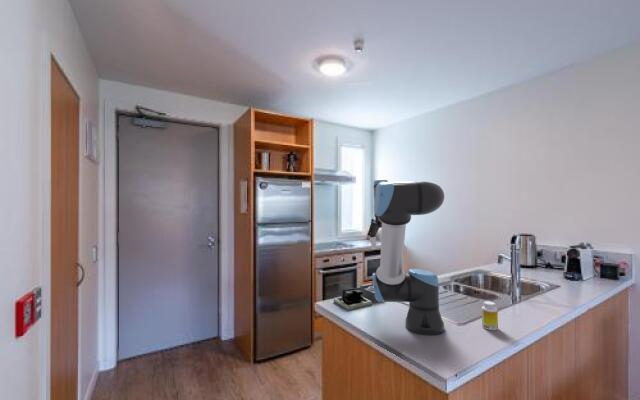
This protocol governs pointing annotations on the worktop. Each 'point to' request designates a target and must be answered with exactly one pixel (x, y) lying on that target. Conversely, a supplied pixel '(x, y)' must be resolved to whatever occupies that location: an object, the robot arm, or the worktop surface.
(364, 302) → the grey square frame
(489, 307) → the supplement bottle
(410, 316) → the robot arm
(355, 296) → the black ridged block
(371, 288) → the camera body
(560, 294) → the worktop surface
